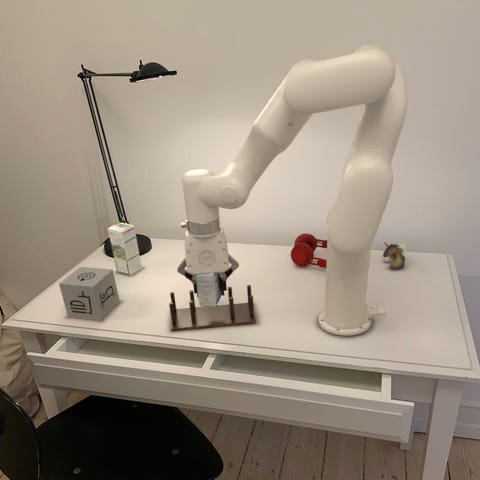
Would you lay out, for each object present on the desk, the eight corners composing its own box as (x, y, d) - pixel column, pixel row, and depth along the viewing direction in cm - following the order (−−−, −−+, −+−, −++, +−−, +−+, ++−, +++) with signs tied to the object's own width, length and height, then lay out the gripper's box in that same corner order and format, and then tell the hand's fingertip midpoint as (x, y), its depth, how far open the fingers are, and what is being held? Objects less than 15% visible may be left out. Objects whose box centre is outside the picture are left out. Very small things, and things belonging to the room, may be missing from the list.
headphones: (287, 268, 152) (355, 280, 149) (290, 246, 148) (360, 259, 145) (294, 248, 164) (357, 259, 161) (297, 227, 160) (362, 238, 157)
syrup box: (142, 268, 160) (134, 224, 152) (129, 276, 156) (121, 231, 148) (129, 264, 163) (120, 221, 155) (116, 272, 158) (106, 228, 151)
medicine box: (216, 307, 125) (213, 275, 121) (198, 306, 126) (195, 275, 122) (223, 292, 132) (220, 261, 127) (206, 291, 133) (203, 261, 128)
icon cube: (101, 320, 134) (93, 286, 129) (68, 316, 137) (58, 283, 131) (119, 302, 142) (112, 269, 137) (88, 298, 145) (80, 266, 140)
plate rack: (252, 304, 136) (250, 282, 133) (255, 323, 128) (254, 299, 124) (172, 311, 136) (169, 289, 132) (171, 331, 127) (167, 307, 124)
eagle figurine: (376, 252, 156) (376, 260, 148) (391, 233, 153) (392, 240, 145) (396, 267, 156) (398, 275, 148) (412, 248, 153) (414, 255, 145)
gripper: (166, 234, 115) (176, 304, 125) (242, 228, 116) (246, 298, 125) (167, 222, 122) (177, 290, 131) (239, 216, 122) (243, 284, 132)
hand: (210, 293), depth 128 cm, fingers closed on medicine box, 5 cm apart
